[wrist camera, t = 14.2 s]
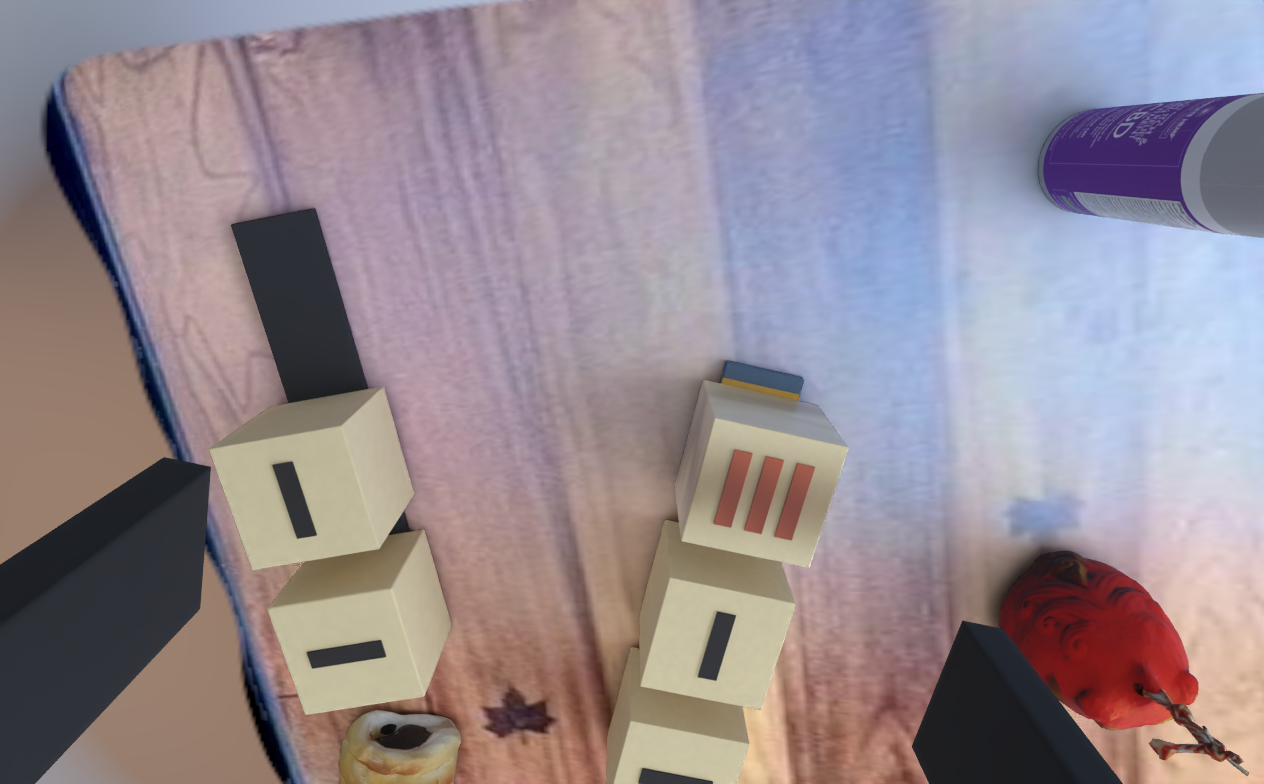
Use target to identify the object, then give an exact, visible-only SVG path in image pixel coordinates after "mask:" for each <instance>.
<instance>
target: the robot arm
mask: <svg viewBox="0 0 1264 784" xmlns="http://www.w3.org/2000/svg"><path fill="white" fill-rule="evenodd" d="M210 471H211V467H209V466H204V465H199V464H194V463H190V462H185V461H180V460H175V459H170V458H165V457H164V458H162V459H161V460H159V461H158V462H156V463H155V464H153V465H152V466H150V467H148V468H147V469H145V470H144V471H142V472H141V473H139V474H138V475H136V476H135V477H133V478H132V479H130V480H129V481H127V482H126V483H124V484H123V485H121V486H120V487H118V488H117V489H115V490H113V491H112V492H110V493H109V494H107V495H106V496H104V497H103V498H101V499H100V500H98V501H97V502H95V503H93V504H92V505H91V506H89V507H87V508H86V509H84V510H83V511H81V512H80V513H78V514H77V515H75V516H74V517H72V518H71V519H69V520H68V521H66V522H64V523H63V524H61V525H60V526H58V527H57V528H55V529H54V530H52V531H51V532H49V533H48V534H46V535H45V536H43V537H42V538H40V539H39V540H37V541H36V542H34V543H33V544H31V545H30V546H28V547H26V548H25V549H23V550H22V551H20V552H19V553H17V554H16V555H14V556H13V557H11V558H10V559H8V560H7V561H5V562H4V563H2V564H1V565H0V784H35V783H36V782H37V781H38V780H39V779H40V778H41V777H42V776H43V774H45V773H46V771H47V770H48V769H49V768H50V767H51V766H52V765H53V764H54V763H55V762H56V761H57V760H58V759H59V758H60V757H61V756H62V754H63V753H64V752H65V751H66V750H67V749H68V748H69V747H70V746H71V745H72V744H73V743H74V742H75V741H76V740H77V738H79V737H80V735H81V734H82V733H83V732H84V731H85V730H86V729H87V728H88V727H89V726H90V725H91V724H92V722H94V721H95V719H96V718H97V717H98V716H99V715H100V714H101V713H102V712H103V711H104V710H105V709H106V708H107V707H108V706H109V705H110V704H111V703H112V702H113V700H114V699H115V698H116V697H117V696H118V695H119V694H120V693H121V692H122V691H123V690H124V689H125V688H126V687H127V686H128V685H129V684H130V683H131V681H132V680H133V679H134V678H135V677H136V676H137V675H138V674H139V673H140V672H141V671H142V670H143V669H144V668H145V667H146V666H147V664H148V663H149V662H150V661H151V660H152V659H153V658H154V657H155V656H156V655H157V654H158V653H159V652H160V651H161V650H162V648H164V646H165V645H166V644H167V643H168V642H169V641H170V640H171V639H172V638H173V637H174V636H175V635H176V634H177V633H178V632H179V631H180V630H181V628H182V627H183V626H184V625H185V624H186V623H187V622H188V621H189V620H190V619H191V618H192V617H193V616H194V615H195V614H196V613H197V612H198V610H199V609H200V602H201V589H202V575H203V563H204V550H205V537H206V523H207V510H208V497H209V484H210ZM912 748H913V750H914V752H915V754H916V756H917V759H918V761H919V763H920V765H921V767H922V769H923V771H924V774H925V776H926V778H927V780H928V782H929V784H1123V783H1122V782H1121V781H1120V779H1119V778H1118V777H1117V776H1116V774H1115V773H1114V772H1113V770H1112V769H1111V768H1110V766H1109V765H1108V764H1107V763H1106V761H1105V760H1104V759H1103V757H1102V756H1101V755H1100V754H1099V752H1098V751H1097V750H1096V748H1095V747H1094V746H1093V744H1092V743H1091V742H1090V741H1089V739H1088V738H1087V737H1086V735H1085V734H1084V733H1083V731H1082V730H1081V729H1080V728H1079V726H1078V725H1077V724H1076V722H1075V721H1074V720H1073V719H1072V717H1071V716H1070V715H1069V713H1068V712H1067V711H1066V709H1065V708H1064V707H1063V706H1062V704H1061V703H1060V702H1059V700H1058V699H1057V698H1056V696H1055V695H1054V694H1053V693H1052V691H1051V690H1050V689H1049V687H1048V686H1047V685H1046V684H1045V682H1044V681H1043V680H1042V678H1041V677H1040V676H1039V674H1038V673H1037V672H1036V671H1035V669H1034V668H1033V667H1032V665H1031V664H1030V663H1029V661H1028V660H1027V659H1026V658H1025V656H1024V655H1023V654H1022V652H1021V651H1020V650H1019V648H1018V647H1017V646H1016V645H1015V643H1014V642H1013V641H1012V639H1011V638H1010V637H1009V636H1008V634H1007V633H1006V632H1005V630H1004V629H1001V628H996V627H991V626H986V625H981V624H976V623H971V622H967V621H962V623H961V625H960V628H959V630H958V633H957V635H956V638H955V640H954V643H953V645H952V648H951V650H950V653H949V655H948V658H947V660H946V663H945V665H944V668H943V670H942V673H941V675H940V678H939V680H938V683H937V685H936V688H935V690H934V693H933V695H932V698H931V700H930V703H929V705H928V708H927V710H926V713H925V715H924V718H923V720H922V722H921V725H920V727H919V730H918V732H917V735H916V737H915V740H914V742H913V745H912Z"/></svg>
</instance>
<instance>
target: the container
mask: <svg viewBox="0 0 1264 784" xmlns="http://www.w3.org/2000/svg"><path fill="white" fill-rule="evenodd" d="M1038 175H1039V181H1040V184H1041V187H1042V190H1043V191H1044V193H1045V195H1046V196H1047V198H1048V199H1049V200H1050V201H1051V202H1052V203H1053V204H1055V205H1056V206H1057V207H1059V208H1061V209H1063V210H1066V211H1069V212H1074V213H1079V214H1086V215H1093V216H1100V217H1108V218H1115V219H1122V220H1129V221H1136V222H1143V223H1150V224H1157V225H1164V226H1171V227H1179V228H1186V229H1193V230H1200V231H1207V232H1214V233H1221V234H1230V235H1240V236H1251V237H1261V238H1264V93H1258V94H1248V95H1237V96H1227V97H1216V98H1206V99H1195V100H1185V101H1174V102H1164V103H1153V104H1143V105H1132V106H1122V107H1111V108H1101V109H1093V110H1087V111H1083V112H1079V113H1077V114H1075V115H1073V116H1071V117H1069V118H1067V119H1066V120H1064V121H1063V122H1062V123H1061V124H1059V125H1058V126H1057V127H1056V128H1055V129H1054V131H1053V132H1052V133H1051V134H1050V136H1049V137H1048V139H1047V140H1046V142H1045V144H1044V146H1043V148H1042V151H1041V154H1040V158H1039V164H1038Z"/></svg>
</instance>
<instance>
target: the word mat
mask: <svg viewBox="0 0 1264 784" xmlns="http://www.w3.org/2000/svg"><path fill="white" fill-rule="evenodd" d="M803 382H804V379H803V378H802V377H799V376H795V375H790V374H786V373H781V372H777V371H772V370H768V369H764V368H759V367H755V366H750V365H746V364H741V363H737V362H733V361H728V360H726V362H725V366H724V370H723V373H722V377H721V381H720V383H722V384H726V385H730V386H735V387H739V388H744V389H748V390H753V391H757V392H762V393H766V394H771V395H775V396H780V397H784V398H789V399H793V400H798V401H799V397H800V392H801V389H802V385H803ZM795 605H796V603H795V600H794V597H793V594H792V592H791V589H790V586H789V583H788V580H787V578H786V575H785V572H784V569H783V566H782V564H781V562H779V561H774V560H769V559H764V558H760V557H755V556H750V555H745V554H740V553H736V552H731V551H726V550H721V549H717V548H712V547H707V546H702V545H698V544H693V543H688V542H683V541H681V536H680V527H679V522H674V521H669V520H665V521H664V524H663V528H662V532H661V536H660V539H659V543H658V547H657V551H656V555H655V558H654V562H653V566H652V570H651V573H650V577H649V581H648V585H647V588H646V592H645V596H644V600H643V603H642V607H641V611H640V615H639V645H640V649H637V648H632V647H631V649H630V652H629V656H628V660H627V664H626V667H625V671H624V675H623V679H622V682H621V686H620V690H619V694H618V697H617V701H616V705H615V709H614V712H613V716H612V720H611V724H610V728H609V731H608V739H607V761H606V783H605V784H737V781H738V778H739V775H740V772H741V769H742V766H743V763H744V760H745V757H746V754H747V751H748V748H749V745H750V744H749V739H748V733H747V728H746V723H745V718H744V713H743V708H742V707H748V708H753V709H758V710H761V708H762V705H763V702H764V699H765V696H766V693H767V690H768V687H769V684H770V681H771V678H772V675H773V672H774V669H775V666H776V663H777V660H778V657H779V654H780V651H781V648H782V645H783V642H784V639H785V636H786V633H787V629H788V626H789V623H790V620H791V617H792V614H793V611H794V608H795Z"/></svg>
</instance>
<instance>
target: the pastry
mask: <svg viewBox="0 0 1264 784" xmlns="http://www.w3.org/2000/svg"><path fill="white" fill-rule="evenodd" d="M460 743H461V736H460V732H459V731H458V730H457V728H456V727H455V725H454V723H453V722H452V721H451V720H450V719H448V718H446V717H443V716H435V715H430V714H409V715H399V714H397V713H393V712H388V711H382V710H374V711H371V712H368V713H366V714H363V715H361V716H360V717H359V718H357V719H356V720H355V721H354V722H353V724H352V725H351V726H350V727H349V729H348V734H347V736H346V737H345V739H344V740H343V742H342V744H341V749H340V760H339V773H340V780H339V784H454V777H455V769H456V762H457V754H458V747H459V745H460Z"/></svg>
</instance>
